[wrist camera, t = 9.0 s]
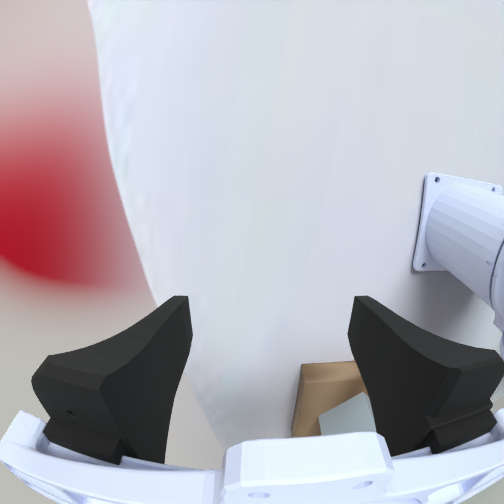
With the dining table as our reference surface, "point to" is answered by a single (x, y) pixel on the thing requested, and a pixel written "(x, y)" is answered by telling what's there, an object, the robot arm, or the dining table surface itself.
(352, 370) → the plinth
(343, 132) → the dining table surface
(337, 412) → the block
